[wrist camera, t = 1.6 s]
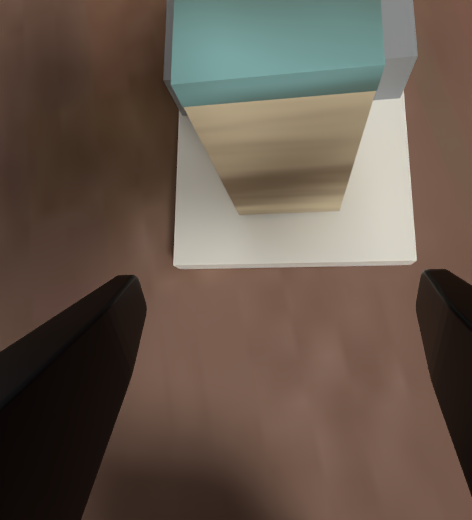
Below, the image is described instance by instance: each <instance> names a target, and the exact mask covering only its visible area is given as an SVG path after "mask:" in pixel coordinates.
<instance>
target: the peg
mask: <svg viewBox="0 0 472 520" xmlns="http://www.w3.org/2000/svg"><path fill="white" fill-rule="evenodd" d="M384 67H385V55H384V40H383V25H382V11H381V0H174V17H173V41H172V65H171V86H172V88H173V90H174V92H175V94H176V96H177V98H178V100H179V102H180V104H181V106H182V107H184V109H185V111H186V113H187V115H188V117H189V119H190V121H191V123H192V125H193V127H194V129H195V131H196V132H197V134H198V136H199V138H200V140H201V142H202V144H203V146H204V148H205V150H206V152H207V154H208V156H209V158H210V160H211V162H212V163H213V165H214V167H215V169H216V171H217V173H218V175H219V177H220V179H221V181H222V183H223V185H224V187H225V189H226V191H227V193H228V195H229V196H230V198H231V200H232V202H233V204H234V206H235V208H236V210H237V212H238V214H239V215H253V214H278V213H303V212H328V211H340V208H341V204H342V201H343V198H344V194H345V191H346V188H347V185H348V181H349V178H350V175H351V171H352V168H353V165H354V162H355V158H356V155H357V152H358V148H359V145H360V142H361V138H362V135H363V132H364V129H365V125H366V122H367V119H368V115H369V112H370V109H371V106H372V102H373V99H374V96H375V92H376V91H377V89H378V86H379V83H380V80H381V76H382V73H383V70H384Z"/></svg>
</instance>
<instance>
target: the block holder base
mask: <svg viewBox="0 0 472 520" xmlns="http://www.w3.org/2000/svg"><path fill="white" fill-rule="evenodd" d="M381 11H382V25H383V40H384V55H385V67H384V70H383V73H382V76H381V80H380V83H379V86H378V89H377V91H376V92H375V96H374V99H373V102H372V106H371V109H370V112H369V115H368V119H367V122H366V125H365V129H364V132H363V135H362V138H361V142H360V145H359V148H358V152H357V155H356V158H355V162H354V165H353V168H352V171H351V175H350V178H349V181H348V185H347V188H346V191H345V194H344V198H343V201H342V204H341V208H340V211H328V212H303V213H278V214H253V215H239V214H238V212H237V210H236V208H235V206H234V204H233V202H232V200H231V198H230V196H229V195H228V193H227V191H226V189H225V187H224V185H223V183H222V181H221V179H220V177H219V175H218V173H217V171H216V169H215V167H214V165H213V163H212V162H211V160H210V158H209V156H208V154H207V152H206V150H205V148H204V146H203V144H202V142H201V140H200V138H199V136H198V134H197V132H196V131H195V129H194V127H193V125H192V123H191V121H190V119H189V117H188V115H187V113H186V111H185V109H184V107H182V106H181V104H180V102H179V100H178V98H177V96H176V94H175V92H174V90H173V88H172V86H171V65H172V41H173V17H174V0H167V10H166V32H165V53H164V75H163V81H164V83H165V85H166V87H167V88H168V90H169V92H170V94H171V96H172V98H173V100H174V101H175V103H176V105H177V107H178V109H179V127H178V154H177V180H176V207H175V234H174V260H173V266H175V267H177V268H179V269H217V268H270V267H324V266H378V265H411V264H412V263H414V262H415V261H417V257H416V244H415V231H414V218H413V205H412V192H411V179H410V166H409V153H408V140H407V127H406V114H405V101H404V88H405V85H406V83H407V81H408V78H409V76H410V73H411V71H412V69H413V66H414V64H415V61H416V59H417V57H418V54H417V42H416V31H415V19H414V7H413V0H381Z"/></svg>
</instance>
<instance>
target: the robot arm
mask: <svg viewBox="0 0 472 520" xmlns="http://www.w3.org/2000/svg"><path fill="white" fill-rule="evenodd" d="M146 311H147V307H146V302H145V298H144V295H143V292H142V288H141V285H140V282H139V279H138V278H137V277H136V276H135V275H119V276H116V277H114V278H113V279H111V280H110V281H108V282H107V283H105V284H104V285H102V286H101V287H99V288H98V289H96V290H95V291H93V292H91V293H90V294H88V295H87V296H85V297H84V298H82V299H81V300H79V301H78V302H76V303H75V304H73V305H72V306H70V307H69V308H67V309H65V310H64V311H62V312H61V313H59V314H58V315H56V316H55V317H53V318H52V319H50V320H49V321H47V322H46V323H44V324H42V325H41V326H39V327H38V328H36V329H35V330H33V331H32V332H30V333H29V334H27V335H26V336H24V337H23V338H21V339H20V340H18V341H16V342H15V343H13V344H12V345H10V346H9V347H7V348H6V349H4V350H3V351H1V352H0V520H81V518H82V515H83V512H84V510H85V507H86V504H87V501H88V498H89V495H90V493H91V490H92V487H93V484H94V481H95V478H96V476H97V473H98V470H99V467H100V464H101V462H102V459H103V456H104V453H105V450H106V447H107V445H108V442H109V439H110V436H111V433H112V431H113V428H114V425H115V422H116V419H117V416H118V414H119V411H120V408H121V405H122V402H123V399H124V397H125V394H126V391H127V388H128V385H129V382H130V379H131V376H132V373H133V369H134V365H135V361H136V357H137V352H138V348H139V344H140V339H141V335H142V330H143V326H144V322H145V317H146ZM416 313H417V318H418V322H419V327H420V332H421V336H422V341H423V346H424V350H425V355H426V360H427V364H428V369H429V373H430V377H431V381H432V384H433V387H434V391H435V394H436V396H437V399H438V402H439V405H440V408H441V411H442V413H443V416H444V419H445V422H446V425H447V428H448V430H449V433H450V436H451V439H452V442H453V445H454V448H455V450H456V453H457V456H458V459H459V462H460V465H461V467H462V470H463V473H464V476H465V479H466V482H467V484H468V487H469V490H470V493H471V496H472V285H470V284H469V283H467V282H466V281H464V280H462V279H461V278H459V277H458V276H456V275H455V274H453V273H452V272H450V271H448V270H446V269H426V270H424V271H423V272H422V274H421V278H420V283H419V289H418V294H417V300H416Z"/></svg>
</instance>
